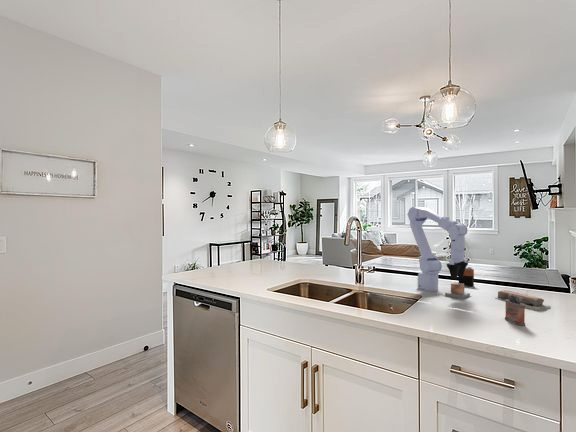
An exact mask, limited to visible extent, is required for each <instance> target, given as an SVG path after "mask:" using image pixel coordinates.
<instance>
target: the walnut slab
mask: <svg viewBox="0 0 576 432" xmlns="http://www.w3.org/2000/svg"><path fill="white" fill-rule="evenodd" d="M442 297H445V298H450V299H456V300H457V299H459V298H454V297H448V296H445V294H443V295H442ZM471 297H473V295H470V296H469V297H467V298H465V299H464V300H466V299H467V300H468V299H470V298H471Z"/></svg>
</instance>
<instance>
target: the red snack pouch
mask: <svg viewBox="0 0 576 432" xmlns="http://www.w3.org/2000/svg"><path fill="white" fill-rule="evenodd" d="M508 297H509V299H505V301H504V303H505V317H504V320H505V321H506V322H509V323H511V324H513V325H515V326H519V327H525V326H526V322H525V318H526V317H525V316H526V315H525V314H526V313H525V311H526V310H525V309H526V308H525V304H523V303H520V301H523V298H522V297H519V296H517V295H511V294H509V295H508Z"/></svg>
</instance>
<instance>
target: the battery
mask: <svg viewBox="0 0 576 432" xmlns="http://www.w3.org/2000/svg"><path fill="white" fill-rule="evenodd" d="M474 280H475V269H474V268H472V267H470V266H468V267H466V269H465V272H464V276H463V278H462V277H458V283H463V284H464V287H469V288H470V287H473V286H475V285H474V284H475V281H474Z"/></svg>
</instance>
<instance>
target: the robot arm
mask: <svg viewBox="0 0 576 432" xmlns="http://www.w3.org/2000/svg"><path fill="white" fill-rule="evenodd" d="M407 217H408V220H409V225H410V229H411V233H412V235H413V238H414V240H415V242H416V245H417V249H418V251H419V254H420V257H419V259H418V263H419V270H420V272H418V273H417V289H421V290H425V291H431V292H432V291H438V290H439V273H440V271H441V270H442V268H443V264H442V262H441V261H440V260H439V258H438V256H437V255H436V254H434V253H433V251H432V249H431V247H430V243H429V241H428V238H427V236H426V233H425V231H424V229H423V225H424V223H425V222H426V221H427V220H428V219H429V220H432V222H435V223H437V226H438V227H440V228H441V229H443V230H445V231H446V232H448V235H449V238H450V259H449V260H448V263H446V267H447V268H448V271H449V274H450V278H451V280H455V281H457V280H458V278H459V277H462V278H463V276H464V272H465V269H466V268H467V266H468V265H469V262H467V261H468V259H467V258H466V257H465V245H466V244H465V243H466V242H465V237H466V235H467V234H468V227H467V226H466V224H464V223H458V221H455V220H453V219H451V217H450V216H448V215H447V216H441V215H439V214H438V213H436V212H434V211H433V210H432V209H430V208H429V207H427V206H423V207H422V206H421V207H419V206H417V207H416V206H411V207H409V209H408V212H407Z"/></svg>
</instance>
